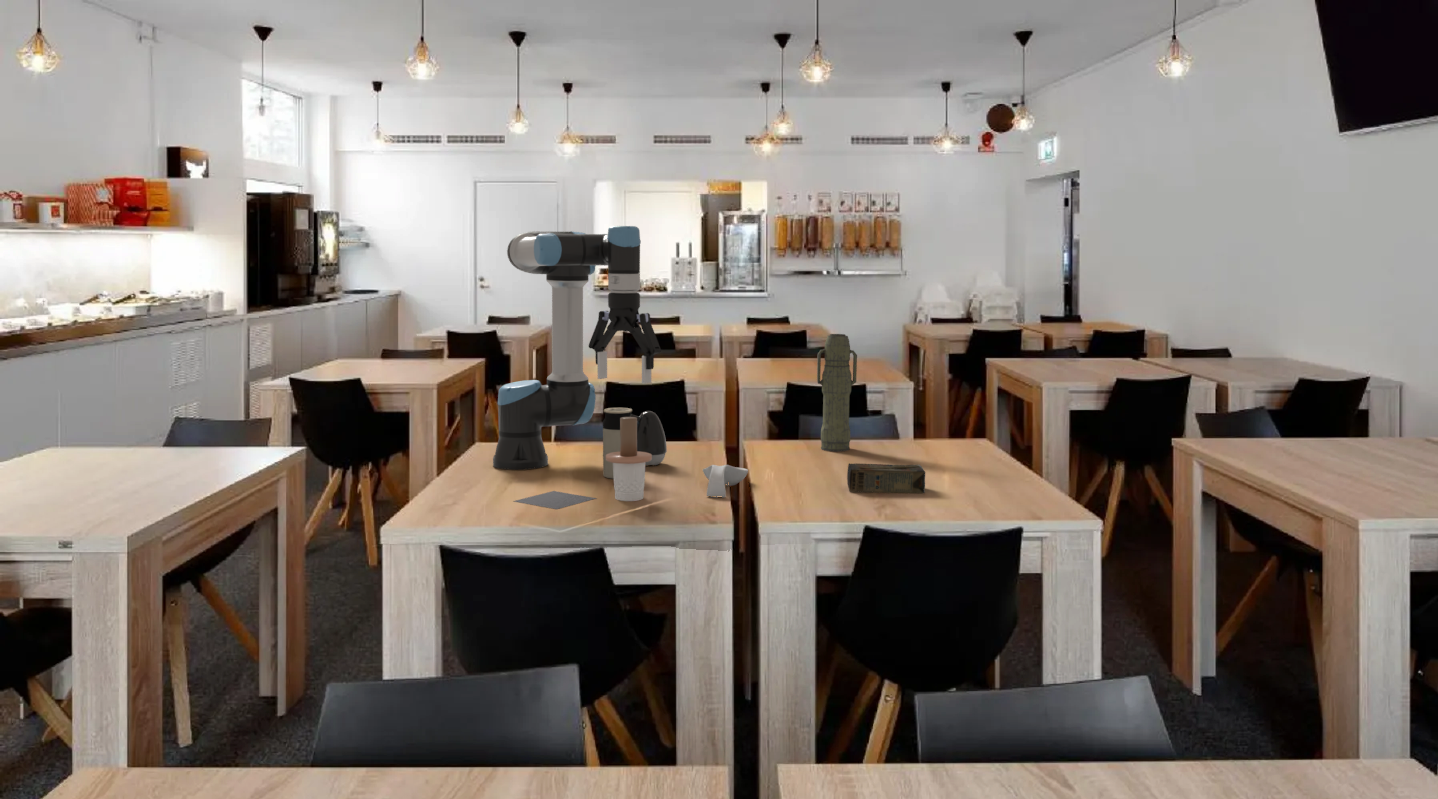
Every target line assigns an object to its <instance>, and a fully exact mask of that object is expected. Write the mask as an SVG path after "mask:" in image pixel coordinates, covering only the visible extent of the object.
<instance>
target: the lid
mask: <svg viewBox="0 0 1438 799" xmlns="http://www.w3.org/2000/svg"><path fill="white" fill-rule="evenodd" d="M651 460H652V455H651V454H650V453H647V452H639V451H637V418H636V417H622V418H620V452H612V453H609V454H606V461H608V462H612V463H621V464H635V463H644V462H648V461H651Z"/></svg>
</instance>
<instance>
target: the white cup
mask: <svg viewBox="0 0 1438 799" xmlns="http://www.w3.org/2000/svg"><path fill="white" fill-rule="evenodd" d="M613 477H614V479H613V489H614V498H615V500H617V501H621V502H635V501H640V500H641V501H642V500H643V499H644V494H645V493H644V491H645V490H644V489H645V480H646V466H645V462H644V463H635V464H621V463H613Z"/></svg>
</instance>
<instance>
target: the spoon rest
mask: <svg viewBox="0 0 1438 799" xmlns="http://www.w3.org/2000/svg"><path fill="white" fill-rule="evenodd" d="M702 472H703V474H704V477H706V478H707V479H708V483H707V484H708V485H707V489H706V497H707V496H711V497H710V498H713V497H712V496H716V497H715V498H718V497H717V496H722V498H726V496H727V492H726V487H728V482H729V487H732V486H735V485H737V484H738V483H741V482H742V481H743V480H744V479H745V477H747V475H748V473H749V470H748V468H743V467H737V466H736V467H735V466H732V465H729V464H724V465H723V464H722V465H716V464H711V465H708V466H707V467H705V468H702ZM725 484H727V486H725Z"/></svg>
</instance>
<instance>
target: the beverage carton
mask: <svg viewBox="0 0 1438 799" xmlns="http://www.w3.org/2000/svg"><path fill="white" fill-rule="evenodd" d="M846 480H847V481H846V483H847V487H848V492H849V493H870V494H871V493H874V494H875V493H877V494H881V493H882V494H885V493H886V494H925V489H926V471H925V469H924V468H923V467H922V465H920V464H890V463H887V464H886V463H885V464H883V463H882V464H881V463H856V462H855V463H848V466H847V476H846Z"/></svg>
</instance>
